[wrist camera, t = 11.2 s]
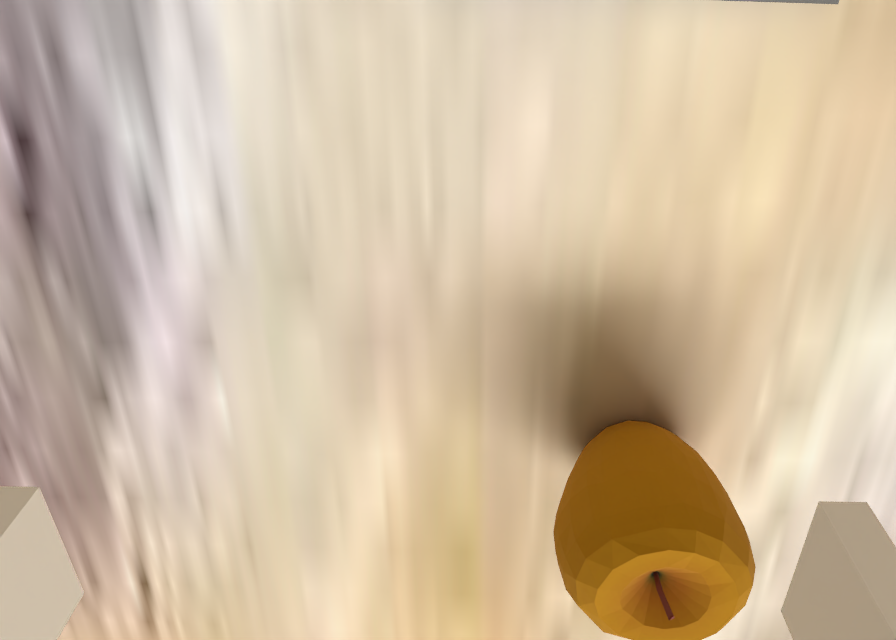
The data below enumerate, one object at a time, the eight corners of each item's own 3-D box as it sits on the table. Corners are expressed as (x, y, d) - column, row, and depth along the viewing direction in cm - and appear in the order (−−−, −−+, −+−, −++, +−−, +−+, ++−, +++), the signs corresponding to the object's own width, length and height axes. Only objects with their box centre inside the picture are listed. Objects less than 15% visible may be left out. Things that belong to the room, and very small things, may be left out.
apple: (526, 485, 51) (533, 647, 40) (589, 371, 45) (617, 521, 34) (664, 527, 52) (708, 696, 41) (741, 421, 46) (816, 581, 35)
